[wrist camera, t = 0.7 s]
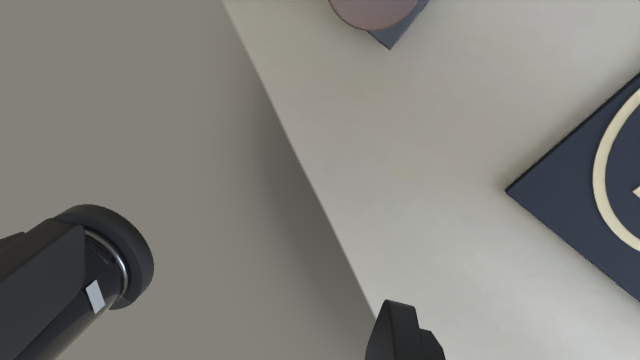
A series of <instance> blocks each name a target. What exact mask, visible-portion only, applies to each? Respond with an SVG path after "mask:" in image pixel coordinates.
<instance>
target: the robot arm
mask: <svg viewBox="0 0 640 360" xmlns="http://www.w3.org/2000/svg"><path fill="white" fill-rule="evenodd" d="M130 283H131V271H130V267H129V264H128V262H127V260H126V258H125V256H124V254H123V253H122V251H121V250H120V249H119V247H118V246H117V245H116V244H115V243H114V242H113V241H112V240H111V239H109V238H108V237H107V236H105V235H104V234H102V233H101V232H99V231H97V230H95V229H93V228H90V227H87V226H83V225H78V224H74V223H70V222H66V221H62V220H58V219H54V218H49V219H46V220H45V221H43V222H42V223H40V224H39V225H37V226H36V227H34V228H33V229H31V230H30V231H28V232H27V233H24V232H20V233H17V234H14V235H11V236H8V237H6V238H3V239H0V360H57V359H58V358H59V357H60V356H61V355H62V354H63V353H64V352H65V351H66V350H67V349H68V348H69V347H70V346H71V345H72V344H73V343H74V342H75V341H76V340H77V339H78V338H79V337H80V336H81V335H82V334H83V333H84V332H86V331H87V330H88V329H89V327H91V326H92V324H94V323H95V321H97V320H98V319H99V318H100V317H101V316H102V315H103V314H104V313H105V312H106V311H107V310H108V309H109V308H110V307H111V306H112V305H113V304H114V303H116V302H117V301H118V300H119V299H120V298H121V297H122V296H123V295H124V294H125V293H126V292H127V291H128V289H129V287H130ZM365 360H446V359H445V356H444V352H443V348H442V347H441V345H440V344H439V343H438V341H437V340H436V338H435V337H434V335H433V334H432V332H431V331H428V330H424V329H420V328H419V324H418V319H417V314H416V310H415V307H414V306H411V305H407V304H403V303H399V302H395V301H391V300H385V301H384V302H383V304H382V307H381V310H380V312H379V315H378V318H377V320H376V323H375V326H374V328H373V331H372V334H371V336H370V339H369V342H368V345H367V349H366V355H365Z"/></svg>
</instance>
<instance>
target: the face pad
mask: <svg viewBox="0 0 640 360" xmlns="http://www.w3.org/2000/svg"><path fill="white" fill-rule="evenodd" d="M505 192H506V193H507V194H508V195H509V196H510V197H512V198H513V199H514V200H515V201H517V202H518V203H519V204H520V205H521V206H523V207H524V208H525V209H526V210H528V211H529V212H530V213H531V214H533V215H534V216H535V217H536V218H537V219H539V220H540V221H541V222H542V223H544V224H545V225H546V226H547V227H548V228H550V229H551V230H552V231H553V232H555V233H556V234H557V235H558V236H559V237H561V238H562V239H563V240H564V241H566V242H567V243H568V244H569V245H570V246H572V247H573V248H574V249H575V250H577V251H578V252H579V253H580V254H581V255H583V256H584V257H585V258H586V259H588V260H589V261H590V262H591V263H593V264H594V265H595V266H596V267H597V268H599V269H600V270H601V271H602V272H604V273H605V274H606V275H607V276H608V277H610V278H611V279H612V280H613V281H615V282H616V283H617V284H618V285H619V286H621V287H622V288H623V289H624V290H626V291H627V292H628V293H629V294H630V295H632V296H633V297H634V298H635V299H637V300H638V301H639V302H640V73H639V74H638V75H637V76H636V77H635V78H633V79H632V80H631V81H630V82H629V83H628V84H627V85H625V86H624V87H623V88H622V89H621V90H620V91H619V92H617V93H616V94H615V95H614V96H613V97H612V98H610V99H609V100H608V101H607V102H606V103H605V104H604V105H602V106H601V107H600V108H599V109H598V110H597V111H596V112H594V113H593V114H592V115H591V116H590V117H589V118H587V119H586V120H585V121H584V122H583V123H582V124H581V125H579V126H578V127H577V128H576V129H575V130H574V131H573V132H571V133H570V134H569V135H568V136H567V137H566V138H564V139H563V140H562V141H561V142H560V143H559V144H558V145H556V146H555V147H554V148H553V149H552V150H551V151H550V152H548V153H547V154H546V155H545V156H544V157H543V158H541V159H540V160H539V161H538V162H537V163H536V164H535V165H533V166H532V167H531V168H530V169H529V170H528V171H527V172H525V173H524V174H523V175H522V176H521V177H520V178H518V179H517V180H516V181H515V182H514V183H513V184H512V185H510V186H509V187H508V188H507V189H506V190H505Z"/></svg>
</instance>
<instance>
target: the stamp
mask: <svg viewBox="0 0 640 360" xmlns="http://www.w3.org/2000/svg"><path fill="white" fill-rule="evenodd" d="M328 1H329V3H330V5H331V7H332V8H333V10H334V12H335V13H336V14H337V15H338V16H339V17H340V18H341V19H342V20H343V21H344V22H346V23H347V24H349V25H350V26H352V27H355V28H357V29H361V30H366V31H367V32H368V33H370V34H371V35H372V36H373V37H374V38H376V39H377V40H378V41H379V42H380V43H382V44H383V45H384V46H385V47H386V48H388V49H389V50H391V48H392V47H393V46H394V45H395V43H396V42H397V41H398V40H399V38H400V37H401V36H402V35H403V33H404V32H405V31H406V30H407V28H408V27H409V26H410V24H411V23H412V22H413V21H414V19H415V18H416V17H417V16H418V14H419V13H420V12H421V11H422V9H423V8H424V7H425V6H426V4H427V3H428V2H429V1H430V0H328Z"/></svg>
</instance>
